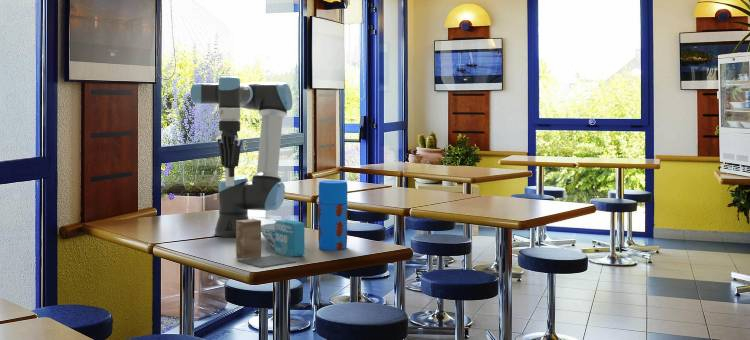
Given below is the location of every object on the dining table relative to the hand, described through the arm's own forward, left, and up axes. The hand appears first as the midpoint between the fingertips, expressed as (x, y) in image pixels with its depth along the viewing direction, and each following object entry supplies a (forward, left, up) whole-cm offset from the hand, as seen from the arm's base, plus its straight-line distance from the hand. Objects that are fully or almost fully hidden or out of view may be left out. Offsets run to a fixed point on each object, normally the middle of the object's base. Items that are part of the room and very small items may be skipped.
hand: (229, 185), depth 276 cm
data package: (+17, +14, -24) cm, 33 cm away
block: (+12, 0, -24) cm, 27 cm away
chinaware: (+1, +21, -24) cm, 32 cm away
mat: (+23, 0, -24) cm, 33 cm away
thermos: (+17, +34, -24) cm, 45 cm away
